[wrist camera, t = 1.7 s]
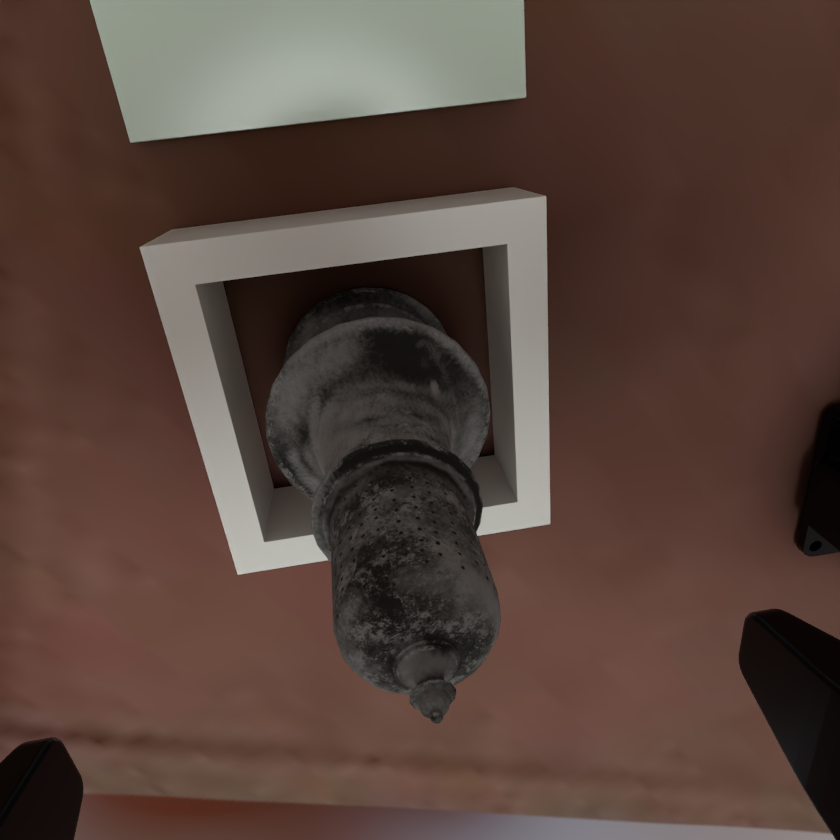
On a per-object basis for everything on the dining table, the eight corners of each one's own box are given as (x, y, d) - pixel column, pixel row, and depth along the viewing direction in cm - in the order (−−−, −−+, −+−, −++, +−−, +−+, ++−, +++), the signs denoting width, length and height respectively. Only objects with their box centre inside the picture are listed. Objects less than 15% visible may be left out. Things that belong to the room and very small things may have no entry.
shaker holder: (513, 186, 17) (546, 195, 14) (523, 475, 21) (550, 524, 19) (171, 229, 16) (139, 247, 14) (251, 517, 21) (237, 574, 18)
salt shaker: (318, 474, 20) (321, 879, 10) (239, 318, 17) (124, 663, 7) (482, 414, 20) (660, 763, 10) (430, 247, 17) (606, 492, 7)
